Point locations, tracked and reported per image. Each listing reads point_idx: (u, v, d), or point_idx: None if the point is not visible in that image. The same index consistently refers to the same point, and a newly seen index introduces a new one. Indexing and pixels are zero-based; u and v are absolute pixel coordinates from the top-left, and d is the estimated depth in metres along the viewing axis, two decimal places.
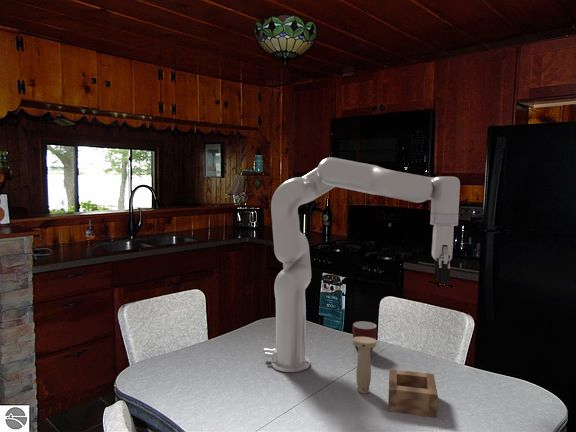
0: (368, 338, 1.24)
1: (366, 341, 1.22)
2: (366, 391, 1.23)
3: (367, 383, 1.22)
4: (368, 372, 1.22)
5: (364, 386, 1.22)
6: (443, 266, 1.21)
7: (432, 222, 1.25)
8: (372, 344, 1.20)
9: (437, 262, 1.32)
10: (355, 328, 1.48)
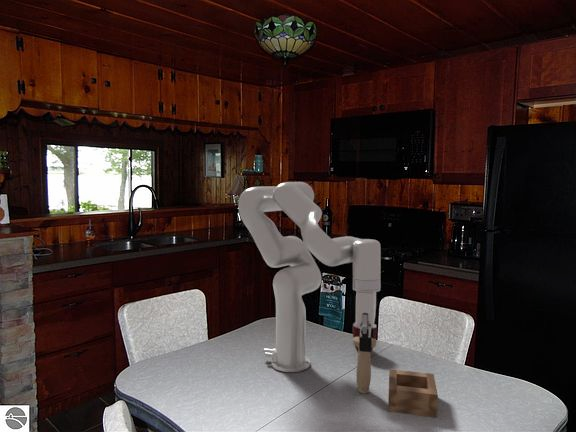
0: None
1: None
2: (366, 391, 1.23)
3: (367, 383, 1.22)
4: (368, 372, 1.22)
5: (364, 386, 1.22)
6: (363, 336, 1.16)
7: (353, 287, 1.20)
8: (372, 344, 1.20)
9: None
10: (355, 328, 1.48)
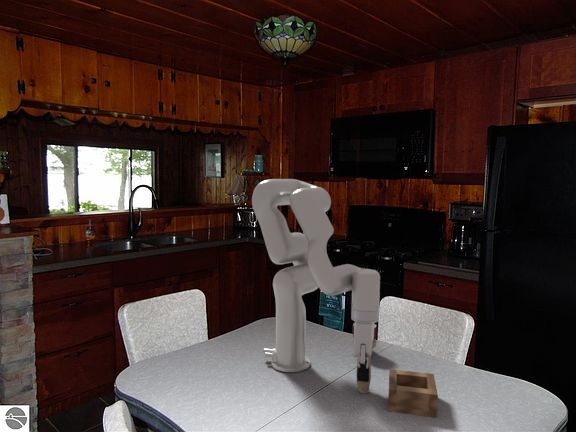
0: None
1: None
2: (366, 391, 1.23)
3: (367, 383, 1.22)
4: None
5: (364, 386, 1.22)
6: (361, 367, 1.20)
7: (352, 317, 1.21)
8: None
9: None
10: None
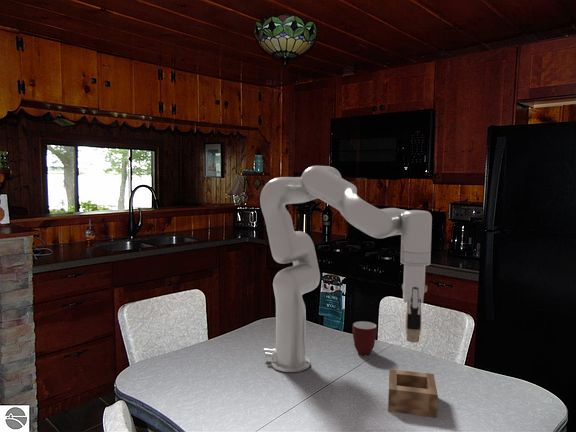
0: None
1: None
2: (416, 340, 1.15)
3: (418, 331, 1.15)
4: None
5: (414, 334, 1.15)
6: (412, 313, 1.12)
7: (402, 261, 1.14)
8: (424, 289, 1.13)
9: None
10: (355, 328, 1.48)
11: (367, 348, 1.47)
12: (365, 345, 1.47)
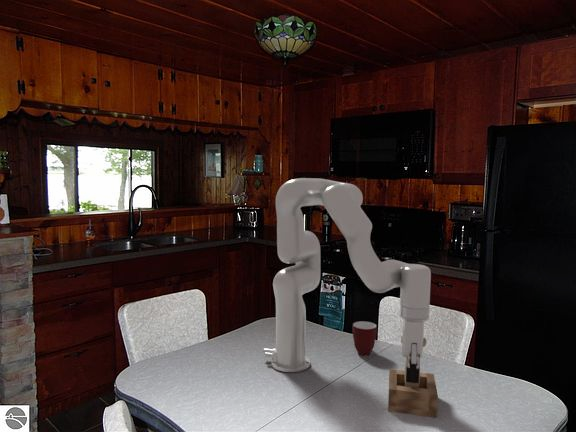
0: None
1: None
2: None
3: (416, 384, 1.16)
4: None
5: None
6: (411, 367, 1.13)
7: (401, 315, 1.15)
8: None
9: None
10: (355, 328, 1.48)
11: (367, 348, 1.47)
12: (365, 345, 1.47)
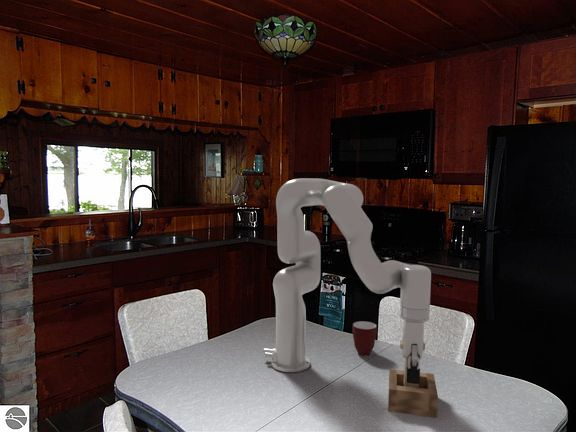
0: None
1: None
2: None
3: None
4: None
5: None
6: (412, 367, 1.11)
7: (401, 316, 1.15)
8: None
9: None
10: (355, 328, 1.48)
11: (367, 348, 1.47)
12: (365, 345, 1.47)
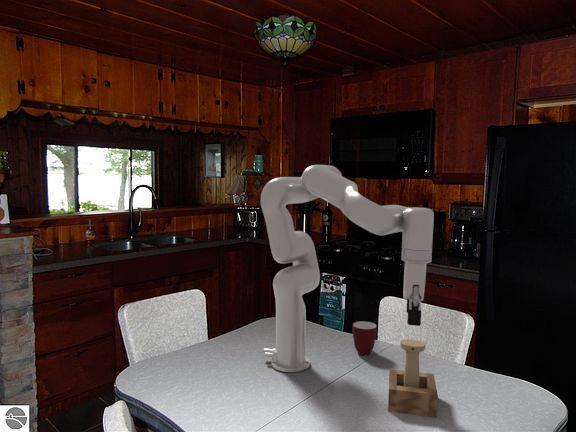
0: (416, 341, 1.18)
1: (414, 344, 1.16)
2: None
3: None
4: (417, 377, 1.16)
5: None
6: (413, 308, 1.09)
7: (403, 258, 1.14)
8: (422, 347, 1.14)
9: None
10: (355, 328, 1.48)
11: (367, 348, 1.47)
12: (365, 345, 1.47)
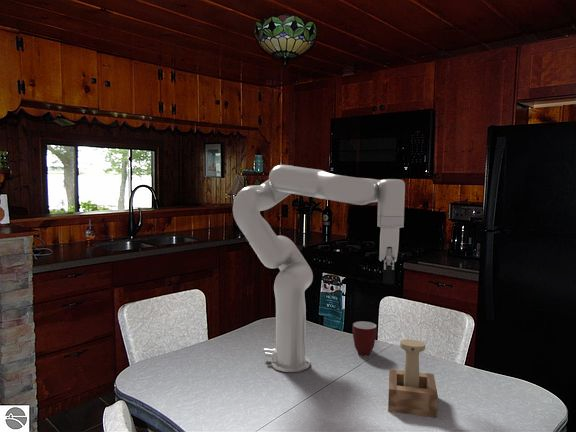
0: (416, 341, 1.18)
1: (414, 344, 1.16)
2: None
3: None
4: (417, 377, 1.16)
5: None
6: (387, 268, 1.23)
7: (378, 224, 1.27)
8: (422, 347, 1.14)
9: None
10: (355, 328, 1.48)
11: (367, 348, 1.47)
12: (365, 345, 1.47)
